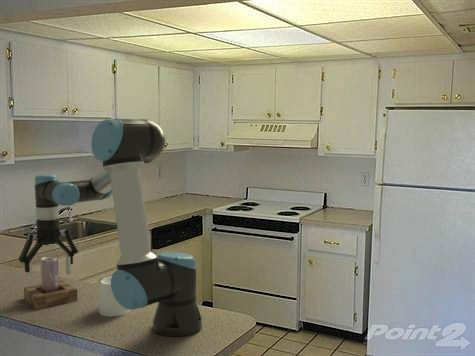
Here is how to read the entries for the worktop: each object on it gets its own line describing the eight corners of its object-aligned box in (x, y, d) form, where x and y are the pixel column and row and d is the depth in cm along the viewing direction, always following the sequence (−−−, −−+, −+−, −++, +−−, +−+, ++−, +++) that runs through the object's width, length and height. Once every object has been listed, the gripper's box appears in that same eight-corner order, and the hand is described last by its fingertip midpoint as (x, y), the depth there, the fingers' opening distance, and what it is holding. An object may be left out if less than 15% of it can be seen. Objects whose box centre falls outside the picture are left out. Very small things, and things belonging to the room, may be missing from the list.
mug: (96, 304, 179) (96, 274, 178) (126, 301, 182) (125, 271, 181) (100, 318, 166) (99, 286, 165) (132, 314, 170) (131, 283, 168)
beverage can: (53, 295, 188) (52, 255, 186) (62, 299, 184) (61, 258, 183) (38, 299, 183) (36, 258, 182) (47, 303, 180) (45, 261, 178)
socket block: (77, 300, 183) (77, 289, 182) (37, 309, 174) (37, 297, 174) (62, 290, 194) (62, 280, 193) (24, 298, 185) (23, 287, 184)
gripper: (77, 212, 191) (79, 268, 194) (7, 220, 176) (9, 281, 178) (86, 215, 186) (87, 272, 188) (13, 224, 170) (16, 286, 172)
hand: (49, 277), depth 183 cm, fingers open, 13 cm apart
